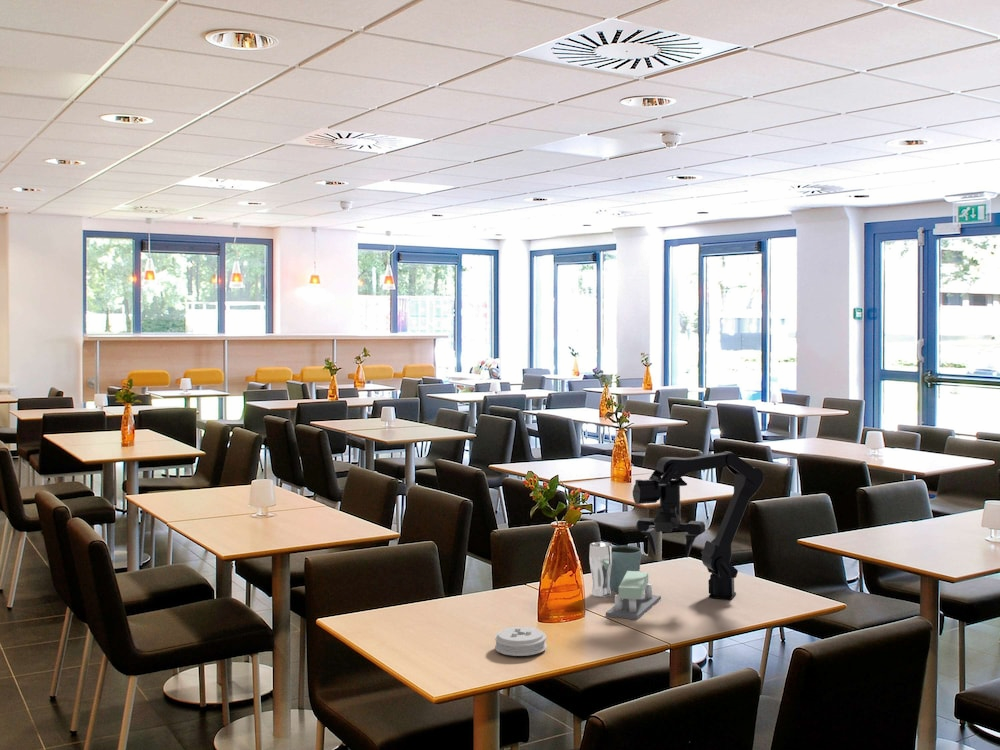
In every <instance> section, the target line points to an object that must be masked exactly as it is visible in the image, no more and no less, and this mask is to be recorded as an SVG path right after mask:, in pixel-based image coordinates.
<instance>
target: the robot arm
mask: <svg viewBox="0 0 1000 750" xmlns="http://www.w3.org/2000/svg"><path fill="white" fill-rule="evenodd" d="M718 468H727V469H728V470H729V472H730V473H732V474H733V475H734V479H733V494H732V497H731V498H730V501H729V504H728V506H727V509H726V510H725V514H724V516H723V519H722V521H721V523H720V526H719V529H718V531H717V532H716V536H715V537H714V538H713V540H711V541H708V540H706V541H705V543H704V546H703V549H702V551H700V554H702V555H701V561H702V564H703V566H704V567H706V569H707V571H708V573H711V574H710V577H709V579H708V598H713V599H723V600H732V599H733V598H734V597H735V596H736V595H737V592H736V591H735V579H736V578H737V576H738V573H739V572H738V570H739V569H737V568H736V567H734V566H733V564H732V563H731V559H732V556H733V555H732V544H733V541H734V538H735V537H736V534H737V531H738V530H739V529H738V528H739V527H740V524H741V521H742V518H743V516H744V514H745V512H746V509H747V507H748V504H749V502H750V500H751V498H753V496H755V494H757V492H758V491H759V489H760V488H761V487H762V485H763V483H764V481H765V475H764V473H763V471H762V470H761V469H760V468H759V467H753V466H752V465H750V464H749V463H748V462H746V461H745V460H744V459H742V458H741V457H740V456H738V455H737V454H736V453H734V452H732V451H726V450H725V451H723V452H717V453H712V454H706V455H697V456H692V457H677V456H676V457H675V456H663V457H661V458H659V460H658V461H657V463H656V468H655V469H654V471H653V472H652V474H651V475H650V476H649V478H648V479H635V482H634V483H635V484H634V485H633V488H632V498H633V502H634V503H635V505H643V504H656V503H657V502H658V501H659V506H658V513H657V514H656V516H655V517H654V518H653V517H652V518H651V517H642V518H641V519H638V521H636V526H635V527H636V531H640V533H641V534H643V535H645V536H646V538H647V540H648V541H649V544H650V547H651V549H652V551H653V555H654V556H657V554H658V535H657V533H660V532H662V533H667V534H668V533H672V531H673V530H675V531H685V532H686V533H687V534H685V558H689V556H690V554H691V553H690V552H691V550H692V547H693V545H694V544H693V543H694V542H695V541H696V540H695V539H696V538H697V537H698V536H701V535H702V534H703V533H705V531H706V524H705V523H704V521H701V520H700V521H698V520H690V521H689V522H687V523H682V518H681V508H682V504H681V487H685V486H688V483H687V482H686V481H685V480H683V477H685V476H686V475H689V474H691V473H693V472H694V473H695V472H698V471H706V470H713V469H718Z"/></svg>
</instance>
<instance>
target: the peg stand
mask: <svg viewBox="0 0 1000 750" xmlns="http://www.w3.org/2000/svg"><path fill="white" fill-rule="evenodd" d="M660 599H662V596H661V595H655V594H653V584H652V583H649V582H648V584H647V586H646V589H645V591H644V593H643V596H642V598H641V599H624V598H619V594H615V595H614V605H613V606H612V607H610V608H609V609H608V610H607V611H606V612H605V617H608V618H609V617H610V618H611V617H613V618H620V619H626V620H627V619H628V620H637V621H638V620H639V619H641V617H642V616H643V615H645V614H646V613H647V612H649V611H650V609H652V608H653V607H654V606H655V605H656V604H658V603H659V602H660V601H661V600H660ZM659 600H660V601H659ZM653 605H654V606H653ZM652 606H653V607H652ZM644 613H645V614H644Z"/></svg>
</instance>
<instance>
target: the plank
mask: <svg viewBox="0 0 1000 750" xmlns="http://www.w3.org/2000/svg"><path fill="white" fill-rule="evenodd" d="M648 583H649V571H627V573H626V574H625V576H624V578H623V580H622V582H621V584H620V586H619V592H618V595H619V598H622V599H641V598H642V596H643V594H645V589H646V586H647V584H648Z"/></svg>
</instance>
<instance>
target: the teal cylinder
mask: <svg viewBox="0 0 1000 750" xmlns="http://www.w3.org/2000/svg"><path fill="white" fill-rule="evenodd" d="M612 551H613V568H612V575H611V589H612V591H613V590H614V592H617V591H619V586H620V584H621V582H622V580H623V578H624V576H625V574H626V573H627V571H640V569H641V558H642V549H641V548H640V547H637V546H633V545H632V546H631V545H615V546H613V545H612Z"/></svg>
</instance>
